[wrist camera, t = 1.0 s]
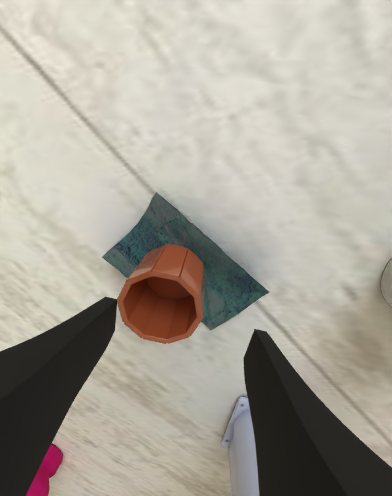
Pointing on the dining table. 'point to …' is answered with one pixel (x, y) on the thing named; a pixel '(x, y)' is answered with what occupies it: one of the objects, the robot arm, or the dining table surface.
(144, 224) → the terrain model
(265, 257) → the dining table surface
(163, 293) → the faceted terracotta tumbler
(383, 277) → the white cylinder
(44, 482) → the pepper mill
